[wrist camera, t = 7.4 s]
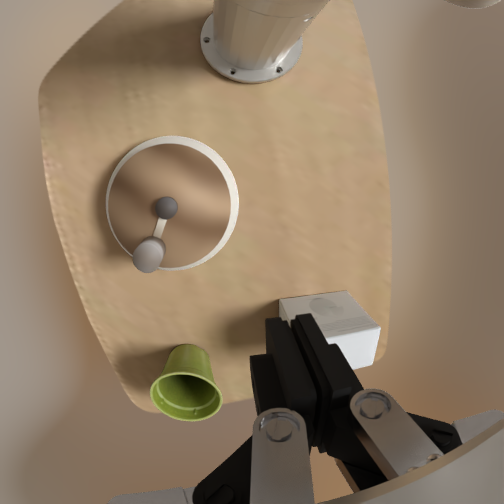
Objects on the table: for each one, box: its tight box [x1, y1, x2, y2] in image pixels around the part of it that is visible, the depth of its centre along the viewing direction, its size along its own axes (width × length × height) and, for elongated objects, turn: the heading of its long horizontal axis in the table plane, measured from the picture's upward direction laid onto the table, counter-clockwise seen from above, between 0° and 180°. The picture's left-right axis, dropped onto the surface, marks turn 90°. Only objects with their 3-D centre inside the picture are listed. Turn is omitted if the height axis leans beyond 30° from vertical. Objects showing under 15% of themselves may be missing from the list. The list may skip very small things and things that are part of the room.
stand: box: [106, 136, 239, 271], centre depth 34 cm, size 16×16×2 cm
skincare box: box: [279, 291, 381, 370], centre depth 37 cm, size 10×6×10 cm, turn 93°
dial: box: [108, 143, 231, 273], centre depth 30 cm, size 14×14×5 cm
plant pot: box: [150, 344, 222, 421], centre depth 38 cm, size 9×9×9 cm
